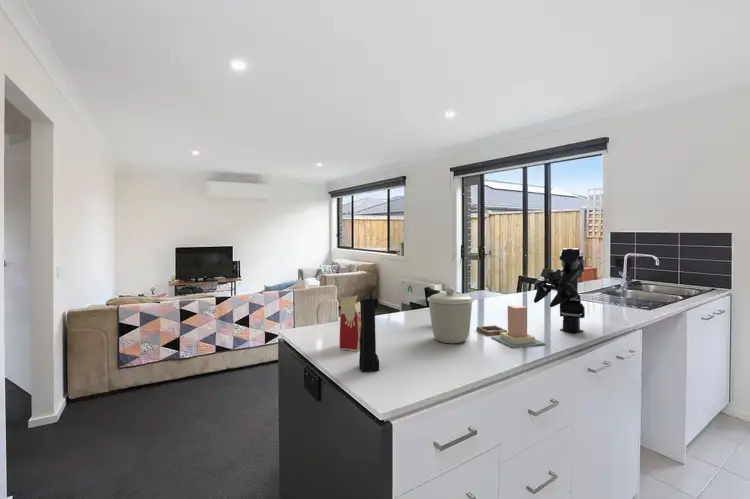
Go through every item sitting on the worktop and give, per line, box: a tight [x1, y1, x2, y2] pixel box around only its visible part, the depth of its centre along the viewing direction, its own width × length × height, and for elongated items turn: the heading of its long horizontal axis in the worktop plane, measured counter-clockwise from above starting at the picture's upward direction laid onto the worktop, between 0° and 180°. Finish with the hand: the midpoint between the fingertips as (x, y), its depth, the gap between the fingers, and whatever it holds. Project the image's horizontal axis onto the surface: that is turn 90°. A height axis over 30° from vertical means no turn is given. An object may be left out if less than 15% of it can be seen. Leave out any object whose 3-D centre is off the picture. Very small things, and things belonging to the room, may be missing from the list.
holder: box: [476, 324, 508, 337], centre depth 154 cm, size 9×9×2 cm
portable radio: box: [358, 291, 380, 373], centre depth 115 cm, size 8×6×25 cm
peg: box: [507, 304, 528, 338], centre depth 140 cm, size 5×5×13 cm
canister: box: [426, 286, 475, 344], centre depth 143 cm, size 18×18×21 cm
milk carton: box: [339, 294, 361, 353], centre depth 136 cm, size 9×9×20 cm
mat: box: [490, 331, 546, 349], centre depth 140 cm, size 14×14×3 cm
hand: (542, 304), depth 143 cm, fingers open, 9 cm apart
